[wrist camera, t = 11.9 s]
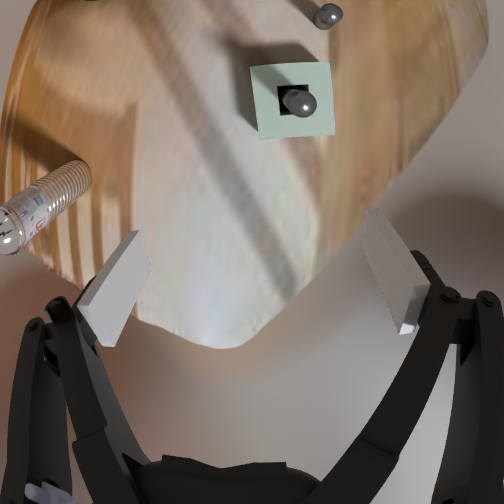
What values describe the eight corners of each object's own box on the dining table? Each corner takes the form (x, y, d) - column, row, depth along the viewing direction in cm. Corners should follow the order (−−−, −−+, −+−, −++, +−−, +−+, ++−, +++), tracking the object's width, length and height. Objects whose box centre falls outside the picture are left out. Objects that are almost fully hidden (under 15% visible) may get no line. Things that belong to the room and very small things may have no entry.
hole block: (251, 69, 34) (249, 66, 30) (322, 64, 33) (329, 62, 29) (260, 133, 39) (259, 139, 35) (327, 129, 38) (335, 134, 34)
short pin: (312, 13, 29) (319, 3, 24) (331, 13, 28) (341, 3, 23) (314, 29, 30) (322, 21, 25) (333, 30, 30) (344, 22, 25)
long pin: (279, 89, 36) (286, 91, 24) (299, 88, 35) (315, 90, 24) (282, 108, 37) (289, 118, 25) (301, 106, 37) (318, 117, 25)
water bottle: (72, 196, 46) (-14, 275, 25) (60, 164, 42) (-36, 232, 21) (98, 188, 45) (8, 271, 24) (86, 153, 41) (-17, 221, 20)
